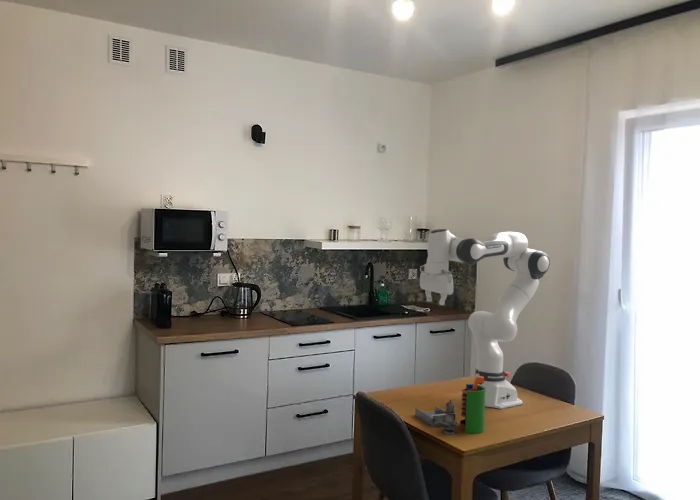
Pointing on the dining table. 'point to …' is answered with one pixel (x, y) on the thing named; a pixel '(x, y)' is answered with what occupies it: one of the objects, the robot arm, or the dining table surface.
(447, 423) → the grey tall turned piece
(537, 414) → the dining table surface
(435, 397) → the dining table surface
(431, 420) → the grey open frame
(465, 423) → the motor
